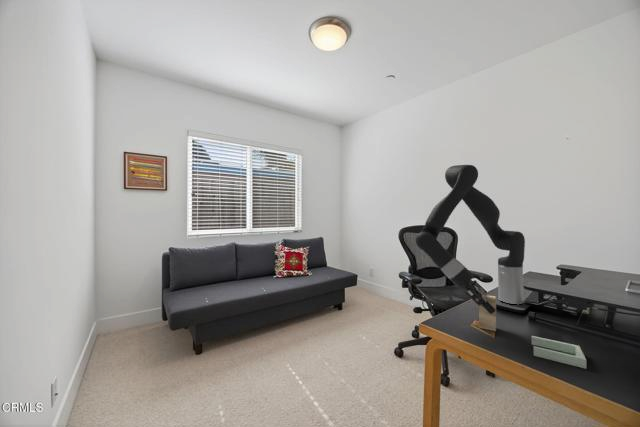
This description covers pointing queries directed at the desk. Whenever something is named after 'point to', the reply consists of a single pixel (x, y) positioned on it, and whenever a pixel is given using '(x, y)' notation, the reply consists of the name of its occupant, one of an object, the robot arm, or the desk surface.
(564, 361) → the tray
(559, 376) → the desk surface
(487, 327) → the oak block
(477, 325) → the shard
